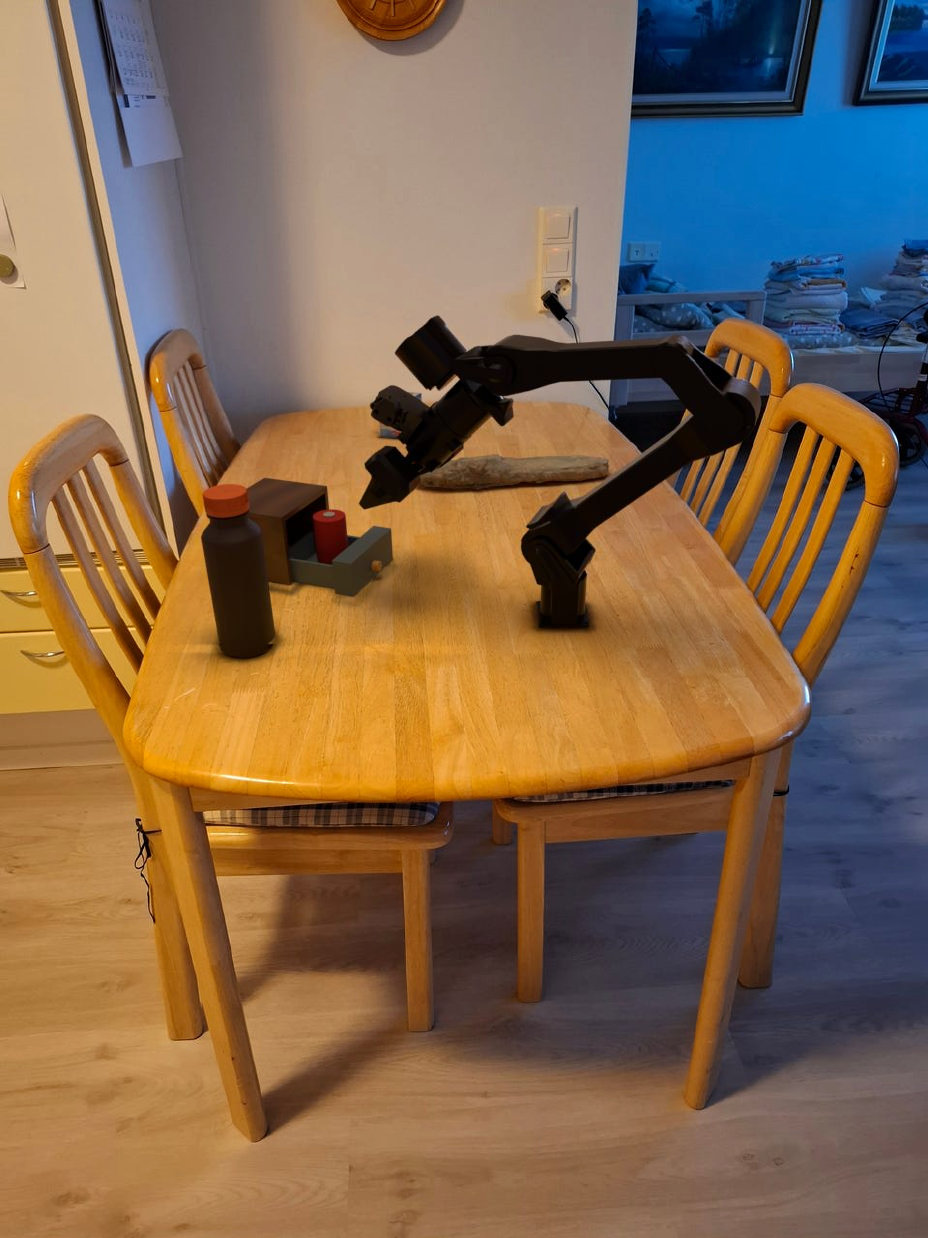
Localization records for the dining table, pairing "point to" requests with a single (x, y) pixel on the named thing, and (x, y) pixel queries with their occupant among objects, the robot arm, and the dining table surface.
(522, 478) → the elongated rock
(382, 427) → the medicine box
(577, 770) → the dining table surface
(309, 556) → the drawer
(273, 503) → the cubby
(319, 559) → the roller
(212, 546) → the bottle
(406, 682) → the dining table surface
